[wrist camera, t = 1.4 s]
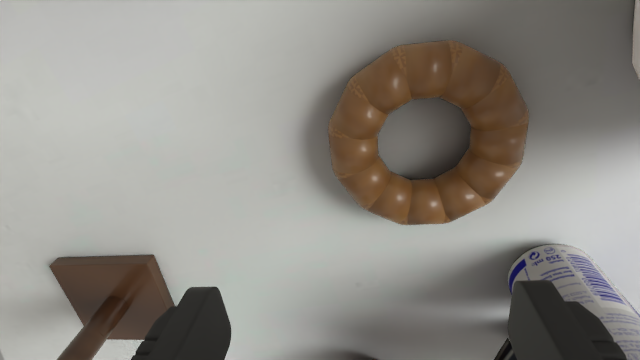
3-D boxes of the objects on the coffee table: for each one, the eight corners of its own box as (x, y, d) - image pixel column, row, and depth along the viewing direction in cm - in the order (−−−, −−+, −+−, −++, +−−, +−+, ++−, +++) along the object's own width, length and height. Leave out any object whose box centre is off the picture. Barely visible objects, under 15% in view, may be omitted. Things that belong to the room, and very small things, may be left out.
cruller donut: (322, 50, 19) (316, 58, 17) (528, 27, 18) (552, 34, 15) (339, 212, 24) (337, 236, 21) (504, 205, 22) (520, 230, 20)
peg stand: (58, 257, 28) (-102, 399, 18) (154, 254, 27) (37, 404, 17) (98, 329, 32) (-17, 480, 22) (185, 330, 31) (103, 489, 21)
